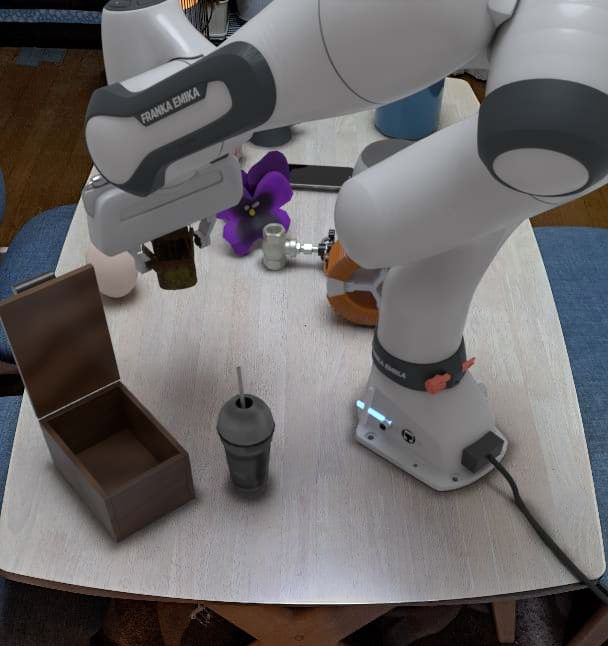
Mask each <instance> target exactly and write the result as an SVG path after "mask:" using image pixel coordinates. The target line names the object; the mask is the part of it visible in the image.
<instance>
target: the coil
mask: <svg viewBox="0 0 608 646" xmlns="http://www.w3.org/2000/svg"><path fill="white" fill-rule="evenodd" d="M326 258H327V256H326V250H325V253H324V262H323V273H324V275H325V276H326V281H325V282H326V283H325V284H326V299H327V301H328V303H329V305H330V307H331V308H332V310H334V312H335V313H337V314H338V315H339V316H340V317H341V318H343V319H345V320H346V321H348V322H351V323H353V324H356V325H359V326H360V325H361V326H364V327H366V326H367V327H376V325H377V324H378V321H379V311H380V302H381V293H382V286H383V282H384V280H385V277H386V275H387V274H388V272H389V270H390V269H391V268H392V267H387V268H377V269H366V268H363V267H361V266H360V265H358V264H357V263H355V262H354V261H353V260H352V259H351V258H350V257H349V256H348V255H347V253H346V252H345V251H344V249H343V248H342V246H341V244H340V242H339V240H338V239H336V240H335V244H333V246H332V248H331V250H330V252H329V261H328V269H326V267H327V265H326V262H325V260H326Z"/></svg>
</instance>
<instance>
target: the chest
mask: <svg viewBox="0 0 608 646" xmlns="http://www.w3.org/2000/svg"><path fill="white" fill-rule="evenodd" d="M37 421H38V424H39V427H40V429H41V433H42V435H43V438H44V441H45V443H46V446H47V449H48V451H49V455H50V457H51V459H52V463H53V465H54V467H55V468H56V469H57V471H59V473H60V474H61V475H62V476H63V478H64V479H65V480H66V482H67V484H69V486H71V488H72V489H73V490H74V492H75V493H76V494H77V495H78V496H79V498H80V499H81V500H82V501H83V503H84V504H85V506H87V507H88V509H89V510H90V511H91V512H92V514H93V515H94V516H95V518H96V519H97V520H98V521H99V522H100V524H101V525H102V527H104V529H105V530H106V531H107V533H108V534H109V535H110V536H111V538H113V540H114V541H115V543H117V544H118V543H120V542H122V541H123V540H125V539H127V538H128V537H130V536H132V535H134V534H135V533H137V532H139V531H141V530H143V529H144V528H145V527H148V526H149V525H151V524H152V523H155V522H156V521H159V520H160V519H161V518H163V517H165V516H167V515H169V514H170V513H172V512H173V511H175V510H177V509H178V508H180V507H182V506H183V505H185V504H188V503H189V502H191V501H192V500H194V499H196V498H197V497H196V491H195V484H194V478H193V472H192V466H191V458H190V453H189V452H188V451H187V450H186V449H185V448H184V447H183V445H182V444H180V442H179V441H178V440H177V439H176V438H175V437H174V435H172V434H171V433H170V432H169V431H168V430H167V429H166V428H165V426H163V424H162V423H161V422H160V421H159V420H158V419H157V418H156V417H155V416H154V415H153V414H152V412H151V411H149V410H148V408H147V407H146V406H145V405H144V404H143V403H142V402H141V401H140V400H139V399H138V398H137V397H136V395H134V394H133V392H132V391H131V390H130V389H129V388H128V387H127V386H126V385H125V384H124V383H123V382H122V381H121V379H119V380H117V381H115V382H113V383H111V384H109V385H107V386H105V387H103V388H101V389H99V390H97V391H95V392H93V393H91V394H89V395H87V396H85V397H83V398H81V399H79V400H77V401H75V402H73V403H71V404H69V405H67V406H65V407H63V408H60V409H58V410H56V411H54V412H52V413H50V414H48V415H46V416H44V417H42V418H40V419H38V420H37Z"/></svg>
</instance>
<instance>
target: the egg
mask: <svg viewBox="0 0 608 646" xmlns="http://www.w3.org/2000/svg"><path fill="white" fill-rule="evenodd" d="M89 263H91V264H92V265H93V266H94V270H95V274H96V278H97V282H98V287H99V291H100V294H103V295H105V296H107V297H110V298H115V299H116V298H118V299H119V298H122V297H126V295H128V294H130V292H131V291H132V289H134V288H135V285H136V284H137V281H138V277H139V271H138V270H137V269H136V266H135V261H134V258H133V257H132V256H131V255H130V254H129V253H128V252H127V251H125V252H123V253H120V254H118V255H115V256H113V257H108V256H106V255H105V254H103V253H102V252H100V251H99V250H98V249H97V248H96V247H95V246H94V245H93V244H92V242H91V240H90V239H89V242H88V246H87V250H86V254H85V265H87V264H89Z"/></svg>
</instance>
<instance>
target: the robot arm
mask: <svg viewBox="0 0 608 646" xmlns="http://www.w3.org/2000/svg"><path fill="white" fill-rule="evenodd" d="M100 26H101V27H100V28H101V30H100V31H101V44H102V55H103V63H104V68H105V70H104V71H105V77H106V83H107V85H105V86H102V87H98V88H96V89H95V90H93V92H92V94H91V96H90V100H89V102H88V105H87V109H86V112H85V117H84V123H83V140H84V145H85V148H86V151H87V154H88V156H89V158H90V161H91V162H92V164H93V166H94V168H95V169H96V170H97V172H98V173H99V174H96V175H93V176H91V177H90V178H89V182H88V183H87V184H86V185H85V186H84V187H83V189H82V191H81V200H82V205H83V208H84V211H85V212H86V222H87V229H88V230H87V231H88V234H89V235H88V236H89V241H90V240H91V242H92V244H93V245H94V246H95V247H96V248H97V249H98V250H99V251H100V252H102V253H103V254H105V255H106V256H108V257H113V256H115V255H118V254H120V253H123V252H125V251H127V252H128V253H129V254H130V255H131V256H132V257H133V258H134V261H135V266H136V269H137V270H138V273H139V274H141V275H144V274H147V273H149V272H151V271H153V269H152V266H151V264H152V263H151V259H150V258H149V257H147V256H146V254H145V253H143V252H141V251H142V244H144V245H145V244H147V243H149V242H151V240H154V239H156V238H159V237H161V236H163V235H166V234H168V233H171V232H173V231H175V230H178V229H180V228H183V227H185V226H189V225H190V226H191V225H192V224H194V223H197V222H199V224H198V228H197V229H196V230H194V232H193V241H194V245H195V246H196V247H198V249H200V250H202V249H204V248H207V247H209V246H211V244H212V241H211V234H212V232H213V229H214V227H215V225H216V222H217V221H218V220H217V218H216V213H219V212H221V211H224V210H226V209H228V208H231V207H233V206H236V205H238V203H239V202H240V200H241V198H242V195H243V184H242V175H241V169H242V168H241V164H240V160H239V161H238V159H237V158H236V157H235V156H234V154H235V151H236V149H237V148H239V147H240V146H242V147H243V145H245V144H246V143H249V142H250V140H251V138H252V137H253V135H254V132H258V131H263V130H268V129H273V128H278V127H283V126H288V125H293V126H295V125H294V124H296V125H300V124H304V123H309V122H313V121H314V122H315V121H321V120H326V119H333V118H340V117H343V116H348V115H352V114H358V113H362V112H367V111H371V110H375V108H378V107H381V106H384V105H387V104H390V103H393V102H395V101H398V100H400V99H403V98H405V97H408V96H410V95H413V94H415V93H417V92H419V91H421V90H423V89H425V88H427V87H429V86H431V85H433V84H435V83H436V82H438V81H440V80H442V79H443V78H445V79H446V77H449V76H450V75H451V74H453V73H454V72H456V71H458V70H465V69H466V70H467V69H478V70H479V69H482V70H487V71H488V72H487V80H486V86H485V92H484V93H485V95H484V98H483V99H482V100H481V103H480V104H479V108H478V111H476V112H475V113H473V114H471V115H469V116H467V117H464V118H463V119H460V120H459V121H456V122H454V123H453V124H452V123H451V124H450V125H448V126H446V127H444V128H442V129H441V130H438V131H436V132H433V133H431V134H430V135H429V136H426V137H423V138H421V139H419V140H418V141H416V142H415V143H414V144H412V145H410V146H408V147H407V148H405V149H403V150H401V151H399V152H397V153H396V154H394V155H392V156H390V157H388V158H387V159H385V160H383V161H381V162H379V163H377V164H375V165H373V166H372V167H370V168H368V169H366V170H364V171H362V172H361V173H359V174H357V175H355V176H354V177H352V178H350V179H349V180H347V181H346V182H344V184H343V185H342V186H341V188H340V190H338V193H337V196H336V199H335V204H334V211H333V222H334V230H335V235H336V237H337V240H339V242H340V244H341V246H342V248H343V249H344V251H345V252H346V253H347V255H348V256H349V257H350V258H351V259H352V260H353V261H354V262H355V263H357V264H358V265H360V266H361V267H363V268H366V269H377V268H387V267H392V268H391V269H390V270H389V272H388V274H387V275H386V277H385V280H384V282H383V286H382V293H381V302H380V311H379V321H378V324H377V325H376V326H374V330H373V331H374V332H373V338H372V341H371V359H372V364H371V367H370V371H369V374H368V379H367V381H366V382H367V383H366V385H365V387H364V390H363V392H362V394H361V395H360V397H359V400H357V401H356V406H357V409H356V410H357V411H356V412H357V417H358V424H357V426H356V429H355V430H356V431H355V433H354V434H355V435H354V439H355V440H356V442H357V443H359V444H361V445H362V446H364V447H365V448H367V449H369V450H370V451H372V452H374V453H375V454H377V455H378V456H380V457H382V458H383V459H385V460H386V461H388V462H390V463H391V464H393V465H395V466H396V467H397V468H399V469H401V470H403V471H404V472H406V473H407V474H409V475H411V476H412V477H413V478H415V479H417V480H419V481H420V482H422V483H423V484H425V485H426V486H428V487H430V488H432V489H434V490H436V491H438V492H444V491H452V490H457V489H461V488H463V487H466V486H469V485H470V484H472V483H474V482H476V481H478V480H479V479H481V478H483V477H484V476H486V475H487V474H488V473H489V472H491V471H492V470H493V469H496V470H497V471H498V472H499V473H500V474H501V475H502V477H503V478H505V480H506V482H507V483H508V485H509V486H510V489H511V493H512V495H513V498H514V500H515V502H516V504H517V506H518V507H519V509H520V510H521V512H522V513H523V516H524V517H525V518H526V519H527V521H528V522H529V524H530V525H531V526H532V527H533V528H534V530H535V531H536V532H537V533H538V535H539V536H540V537H541V538H542V540H544V541H545V542H546V544H547V545H548V546H549V547H550V548H551V549H552V551H553V552H554V553H555V554H556V555H557V557H559V559H560V560H561V561H562V562H563V563H564V564H565V565H566V567H568V568H569V569H570V570H571V572H572V573H573V574H574V575H575V576H576V577H577V578H578V579H579V580H580V581H581V582H582V583H583V584H584V585H585V586H586V587H587V588H588V589H589V590H590V591H591V592H592V593H593V594H594V595H595V596H596V597H597V598H598V599H599V600H600V601H601V602H602V603H603V604H604V605H605V606H606V607H608V596H607V595H606V594H605V593H604V592H603V591H602V590H601V589H600V588H599V587H598V586H597V585H596V584H594V583H593V581H592V580H590V578H589V577H587V576H586V575H585V574H584V572H582V570H581V569H579V568H578V566H577V565H576V564H575V563H574V562H573V561H572V560H571V559H570V557H568V556H567V554H566V553H565V552H564V551H563V550H562V548H560V546H558V544H557V543H556V542H555V540H554V539H553V538H552V537H551V536H550V534H548V532H547V531H546V530H545V529H544V528H543V527H542V526H541V525H540V524H539V522H538V521H537V520H536V519H535V517H534V516H533V515H532V513H531V511H530V510H529V509H528V507H527V506H526V504H525V502H524V501H523V499H522V497H521V495H520V491H519V489H518V488H519V487H518V485H517V483H516V481H515V480H514V478H513V477H512V474H510V472H509V471H508V470H507V469H506V468H505V467H504V465H502V464H501V462H502V460H503V458H504V457H505V455H506V452H507V449H508V444H509V443H508V442H509V441H508V439H507V438H506V436H505V435H504V434H503V432H501V431H500V429H499V428H498V427H497V426H496V416H495V411H494V409H493V407H492V405H491V403H490V402H489V400H488V399H487V397H488V389H487V386H486V385H485V384H484V383H483V382H477V381H476V379H475V377H474V375H473V374H472V372H471V371H470V368H471V367H473V366H474V365H475V360H476V357H475V356H474V357H472V358H470V359H469V360H468V359H467V357H468V356H467V350H466V344H465V337H464V330H465V326H466V323H467V319H468V315H469V313H470V312H469V311H470V308H471V305H472V304H471V303H472V300H473V298H474V295H475V293H476V290H477V288H478V286H479V285H480V283H481V280H482V279H483V277H484V275H485V273H486V272H487V271H488V269H489V267H490V266H491V264H492V262H493V261H494V259H495V257H496V256H497V254H498V253H499V251H500V250H501V248H502V247H503V246H504V244H505V243H506V241H507V240H508V239H509V238H510V236H511V235H512V234H513V233H514V232H515V231H516V229H517V228H519V226H520V225H521V224H523V222H524V221H526V220H529V219H531V218H533V217H536V216H538V215H540V214H543V213H545V212H548V211H551V210H553V209H555V208H558V207H560V206H563V205H566V204H568V203H571V202H573V201H574V200H577V199H579V198H582V197H583V196H586V195H588V194H590V193H592V192H594V191H595V190H597V189H599V188H602V187H604V186H605V185H607V184H608V0H273V1H271V2H270V3H269V4H268V5H266V6H265V7H264V8H263V9H261V10H260V11H259V12H258V13H256V15H254V16H253V17H252V18H250V19H249V20H248V21H247V22H246V23H245V24H243V25H242V26H241V27H240V28H238V29H237V30H236V31H235V32H233V33H232V34H231V35H230V36H228V37H227V38H226V40H224V41H223V42H222V43H220V44H219V45H218V46H216V45H215V44H213V43H212V42H211V41H210V40H209V39H207V38H206V37H205V36H204V35H203V34H202V33H201V32H200V31H199V30H197V28H195V26H194V25H193V24H192V22H191V21H190V20H189V19H188V17H187V16H186V13H185V11H184V10H183V7H182V4H181V2H180V0H109V1H108V2H107V3H106V4H105V5H104V7H103V9H102V13H101V23H100ZM299 123H300V124H299ZM140 252H141V253H140Z"/></svg>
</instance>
